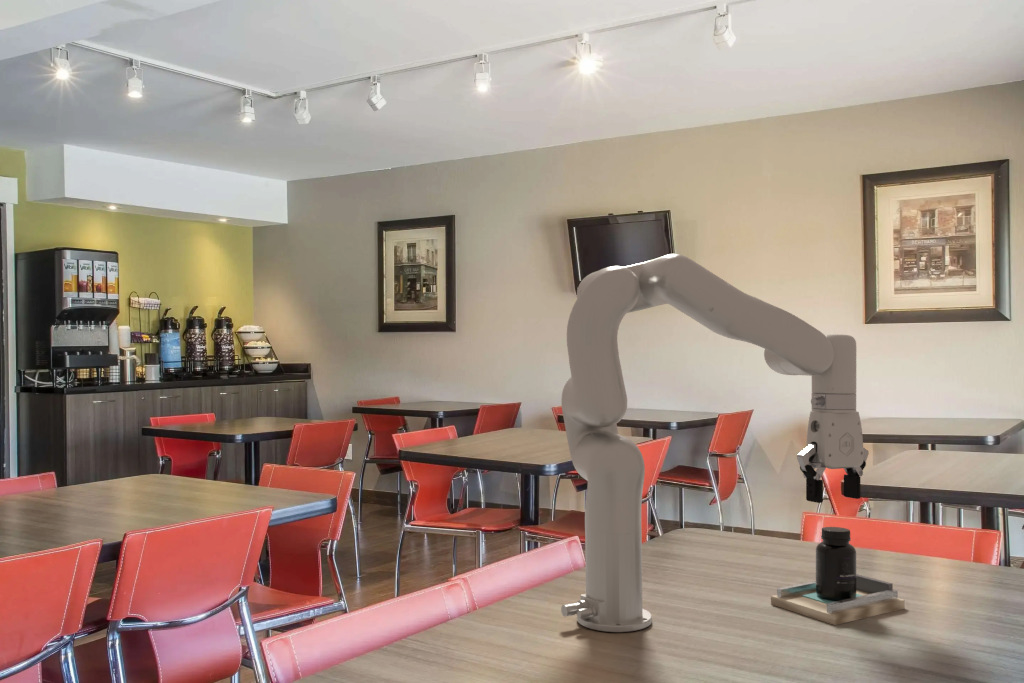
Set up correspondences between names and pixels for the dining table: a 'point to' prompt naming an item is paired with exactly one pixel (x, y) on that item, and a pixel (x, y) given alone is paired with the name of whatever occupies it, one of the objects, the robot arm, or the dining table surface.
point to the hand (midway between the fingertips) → (833, 499)
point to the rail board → (867, 603)
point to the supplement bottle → (835, 565)
